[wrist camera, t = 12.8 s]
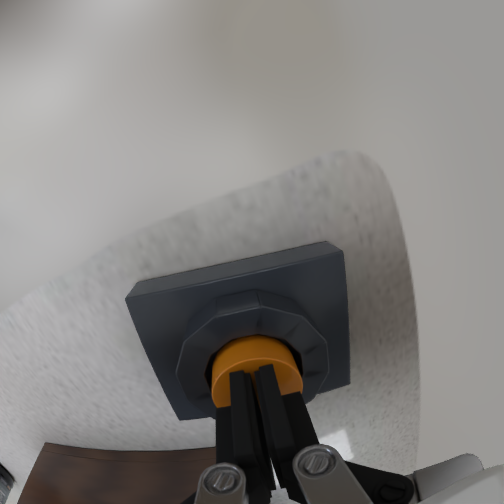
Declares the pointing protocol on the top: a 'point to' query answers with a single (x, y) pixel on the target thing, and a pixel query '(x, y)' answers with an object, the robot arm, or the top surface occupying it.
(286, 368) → the button
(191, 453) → the cupboard
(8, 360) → the top surface
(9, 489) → the supplement container
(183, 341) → the switch block
